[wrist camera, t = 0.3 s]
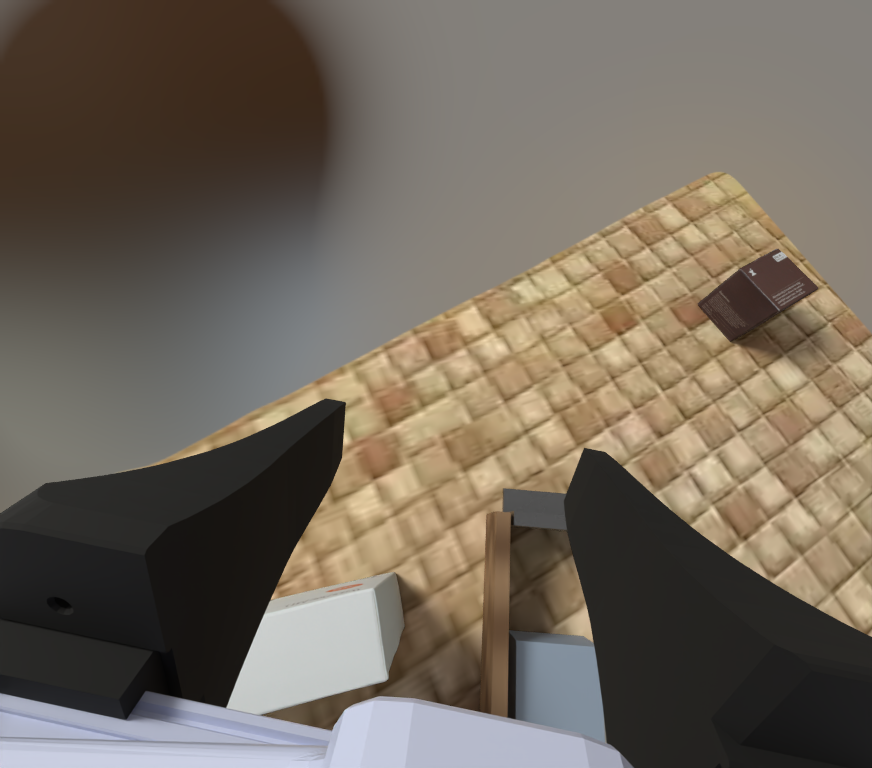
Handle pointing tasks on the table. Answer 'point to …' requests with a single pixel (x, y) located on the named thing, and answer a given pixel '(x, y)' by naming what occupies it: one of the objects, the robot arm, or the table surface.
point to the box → (756, 294)
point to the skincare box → (321, 645)
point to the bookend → (535, 509)
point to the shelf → (496, 616)
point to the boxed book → (555, 682)
